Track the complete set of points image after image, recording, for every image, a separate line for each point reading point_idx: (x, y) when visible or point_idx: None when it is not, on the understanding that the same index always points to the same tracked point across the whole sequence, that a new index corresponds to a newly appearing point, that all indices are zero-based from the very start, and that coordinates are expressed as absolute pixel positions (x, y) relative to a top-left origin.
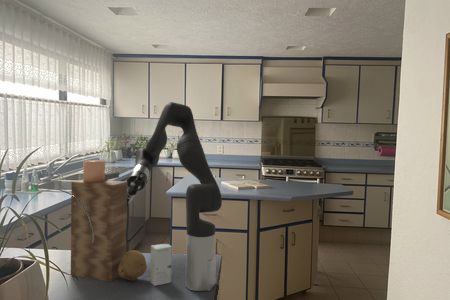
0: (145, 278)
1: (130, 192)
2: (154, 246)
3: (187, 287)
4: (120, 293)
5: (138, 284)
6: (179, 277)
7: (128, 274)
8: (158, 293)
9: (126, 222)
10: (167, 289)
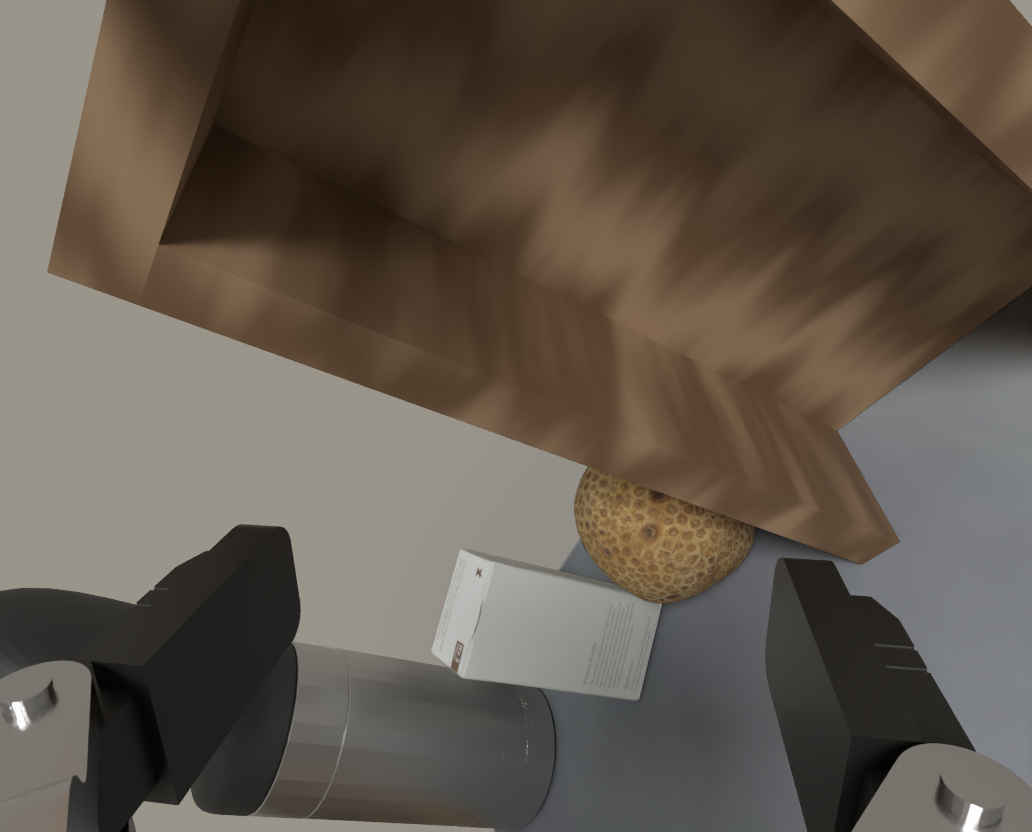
0: (706, 610)
1: (270, 527)
2: (474, 567)
3: None
4: None
5: None
6: (605, 765)
7: None
8: (580, 559)
9: (539, 448)
10: None
